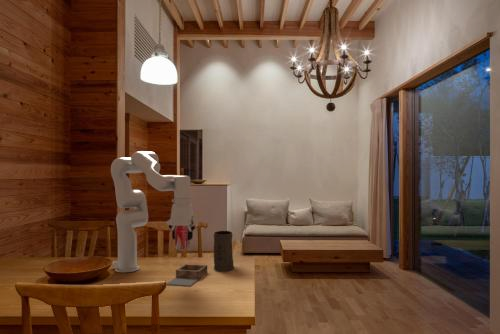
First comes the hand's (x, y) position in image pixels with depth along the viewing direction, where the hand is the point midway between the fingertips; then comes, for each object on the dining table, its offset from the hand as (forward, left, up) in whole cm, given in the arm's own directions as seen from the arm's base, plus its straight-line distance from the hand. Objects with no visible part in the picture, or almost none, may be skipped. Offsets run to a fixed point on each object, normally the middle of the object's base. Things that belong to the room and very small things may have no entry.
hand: (182, 239), depth 176 cm
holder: (0, +12, -21) cm, 24 cm away
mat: (0, 0, -21) cm, 21 cm away
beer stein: (+12, +29, -21) cm, 38 cm away
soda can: (0, 0, -5) cm, 5 cm away
